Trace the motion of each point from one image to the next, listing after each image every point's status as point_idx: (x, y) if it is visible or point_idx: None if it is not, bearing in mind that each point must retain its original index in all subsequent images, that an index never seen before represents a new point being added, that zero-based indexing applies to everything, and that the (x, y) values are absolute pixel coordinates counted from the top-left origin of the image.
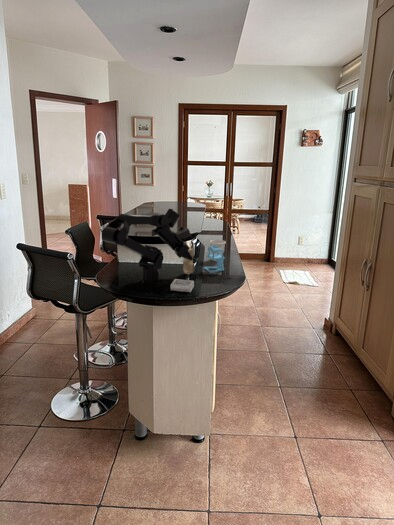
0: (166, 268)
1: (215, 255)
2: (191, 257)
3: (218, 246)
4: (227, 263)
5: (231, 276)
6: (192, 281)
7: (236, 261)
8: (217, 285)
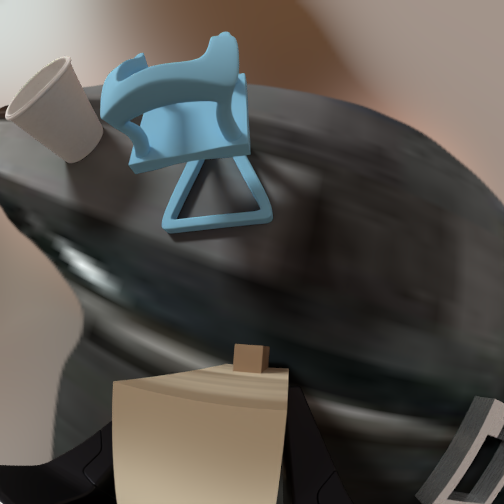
0: None
1: (168, 112)
2: (308, 412)
3: (64, 89)
4: None
5: (347, 136)
6: (500, 409)
7: None
8: (478, 257)
